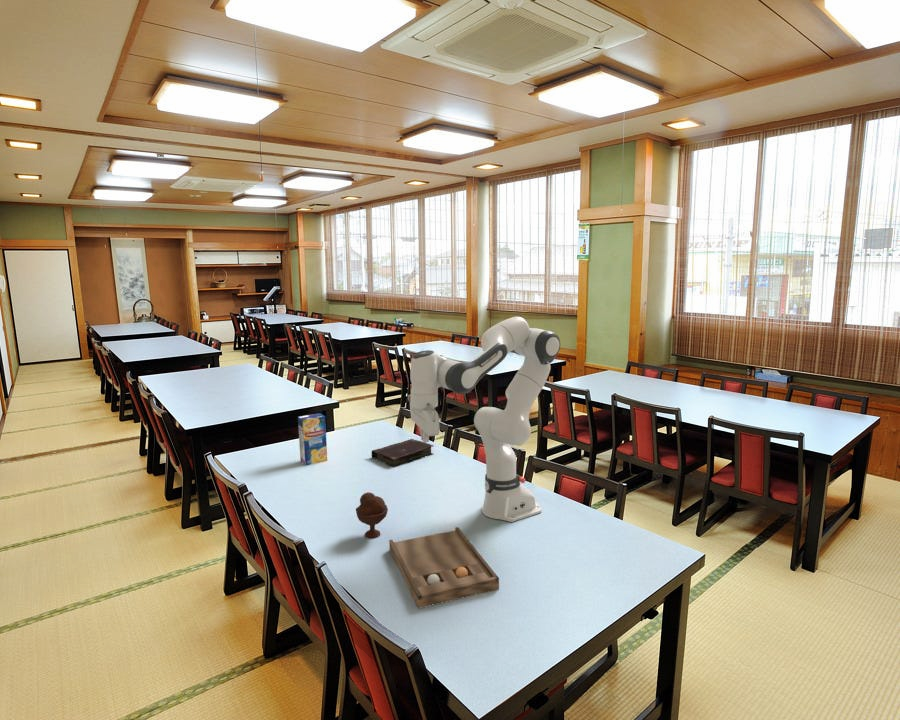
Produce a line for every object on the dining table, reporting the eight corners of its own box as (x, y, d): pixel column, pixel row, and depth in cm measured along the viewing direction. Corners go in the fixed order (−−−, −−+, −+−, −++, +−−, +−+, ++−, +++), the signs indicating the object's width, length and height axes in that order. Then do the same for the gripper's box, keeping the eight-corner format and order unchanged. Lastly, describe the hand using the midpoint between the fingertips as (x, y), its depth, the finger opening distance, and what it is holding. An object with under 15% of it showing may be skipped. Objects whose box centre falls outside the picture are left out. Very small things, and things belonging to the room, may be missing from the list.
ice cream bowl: (358, 545, 175) (357, 502, 172) (355, 529, 186) (353, 489, 183) (390, 540, 178) (389, 498, 175) (385, 525, 188) (384, 485, 186)
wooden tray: (458, 536, 180) (458, 527, 179) (498, 589, 150) (499, 577, 150) (389, 550, 172) (389, 540, 171) (418, 608, 142) (418, 596, 142)
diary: (371, 459, 256) (370, 449, 255) (411, 447, 273) (410, 437, 272) (394, 469, 242) (394, 458, 242) (435, 455, 259) (434, 445, 259)
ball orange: (469, 567, 154) (470, 580, 154) (464, 564, 158) (465, 576, 157) (457, 570, 153) (458, 582, 153) (453, 566, 156) (454, 579, 156)
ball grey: (437, 581, 154) (437, 570, 154) (441, 588, 151) (441, 577, 150) (425, 584, 153) (425, 573, 152) (429, 591, 150) (429, 579, 149)
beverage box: (300, 461, 252) (297, 416, 248) (322, 456, 258) (320, 413, 254) (305, 465, 246) (302, 420, 242) (327, 460, 252) (325, 416, 248)
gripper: (444, 407, 163) (444, 449, 166) (424, 393, 182) (424, 431, 185) (424, 409, 161) (425, 452, 164) (406, 394, 180) (407, 433, 183)
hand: (425, 441), depth 174 cm, fingers closed
